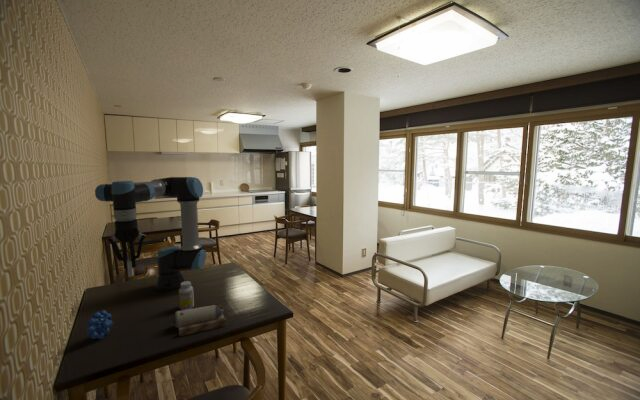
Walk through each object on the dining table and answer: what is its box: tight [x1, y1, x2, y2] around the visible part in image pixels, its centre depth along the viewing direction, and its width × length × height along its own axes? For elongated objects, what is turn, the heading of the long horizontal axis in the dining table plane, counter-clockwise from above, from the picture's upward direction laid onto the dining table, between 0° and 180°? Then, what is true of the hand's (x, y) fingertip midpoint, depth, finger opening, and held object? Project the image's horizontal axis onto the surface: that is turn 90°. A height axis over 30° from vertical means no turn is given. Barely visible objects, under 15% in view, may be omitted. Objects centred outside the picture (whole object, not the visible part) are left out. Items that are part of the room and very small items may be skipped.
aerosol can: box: [174, 304, 225, 329], centre depth 129 cm, size 7×7×20 cm
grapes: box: [85, 309, 114, 340], centre depth 118 cm, size 12×7×12 cm, turn 175°
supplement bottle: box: [178, 280, 195, 311], centre depth 144 cm, size 7×7×13 cm
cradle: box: [178, 304, 228, 337], centre depth 131 cm, size 19×16×3 cm
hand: (131, 275), depth 119 cm, fingers closed
